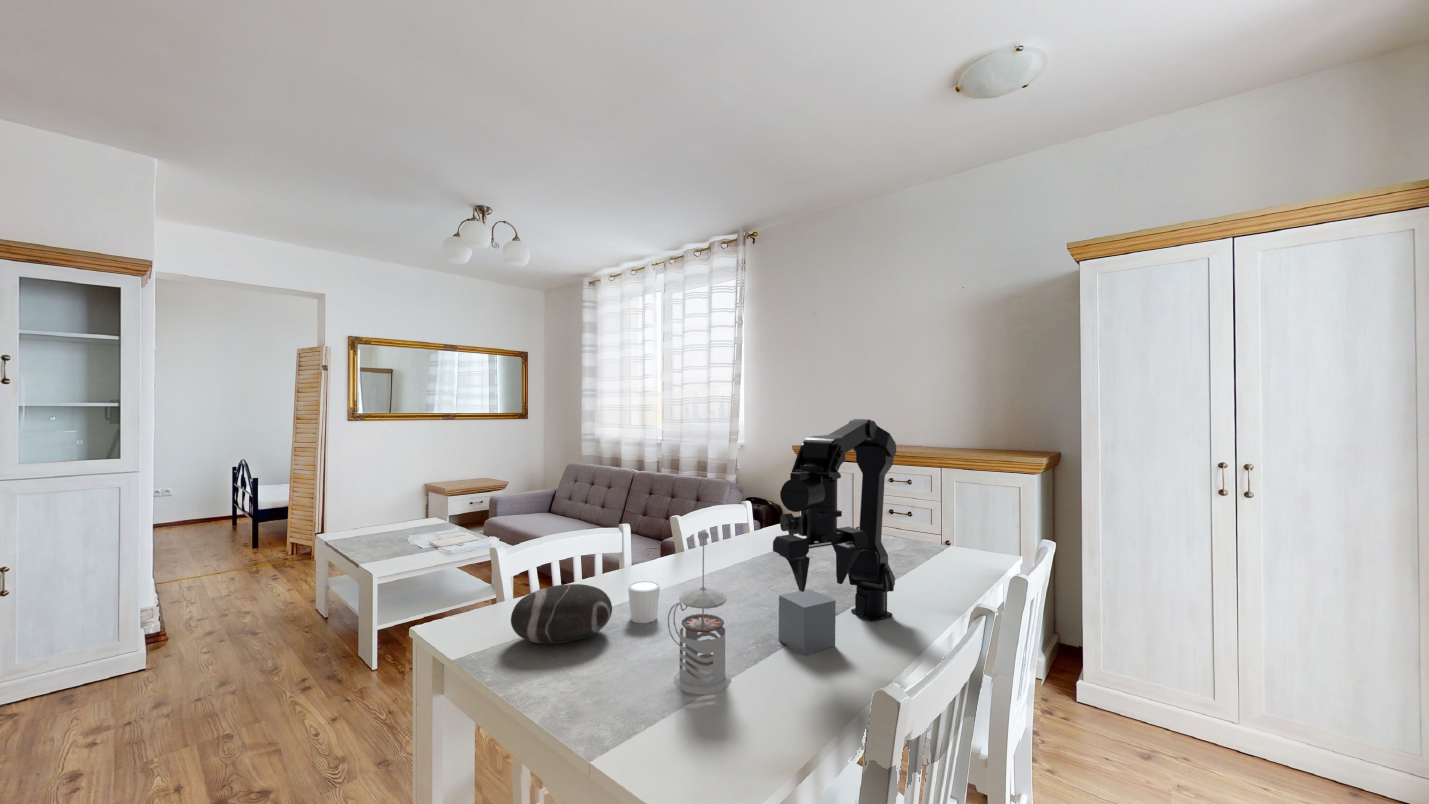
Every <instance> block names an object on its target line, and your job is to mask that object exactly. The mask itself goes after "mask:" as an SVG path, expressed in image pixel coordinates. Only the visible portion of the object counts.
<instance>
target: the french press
mask: <svg viewBox="0 0 1429 804" xmlns="http://www.w3.org/2000/svg"><path fill="white" fill-rule="evenodd" d="M697 538H698V539H701V540H702V586H695V587H693V588H690V589H688V590H686V591H684V592H682V594H680V595H679V597H678V600H679V602H677V603H675V604H673V605H672V606H671V607H670V609H669V611H668V614H667V629H668V631H669V634H670V635H669V636H670V637H671V639H672V640H673V642H674V643H675V644H676V645H678V646H679V671H678V672H677V673H676V674H674V676H673V684H674V686H676V688H677V689H679V690H681V691H682V692H685V693H688V694H689V693H690V694H694V695H711V694H715V693H719V692H722V691H724V690H725V689H727V688H728V687H729V686H730V684H731V683H732V676H731V675H730V674H729V673H728V672H727V671H726V628H725V627H724V625H725V623H724V622H725V621H724V619H723V618H722V617H720V616H717V615H715V614H709V613H704V610H705V609H714V608H718V607H720V606H723V605H724V604H726V602H727V601H728V598H727V595H725V594H724V593H723V592H721V591H720V590H718V589H716V588H714V587H710V586H704V584H705V583H704V582H705V578H704V577H705V576H704V575H705V539H709V538H710V535H709V532H708V531H706V530H700V531H699V532H698V534H697ZM683 605H684V606H685V607H684V608H683ZM678 606H680V611H681V612H684V611H685V610H686V609H688V607H690V608H693V609H694V608H695V609H702V610H701V611H702V612H701V613H695V614H691V615H687V616H685V617H684V618H682V620H681V625H682V627H681V628H680V629H679V632H678V629H677V627H676V625H677V624H676V621H675V620H676V610H677V609H678ZM673 609H674V610H673ZM672 611H673V626H674V631H675V633H676V634H677V636H678V637H679V642H678V641H677V640H676V639H675V637H674V636H673V635H672V631H671V628H670V615H671V613H672ZM684 629H685V636H684ZM714 632H716V633H717V634H718V635H719V636H718V635H717V634H716V633H714ZM698 633H699V634H698ZM708 636H709V637H712V639H711V638H706V639H702V640H700V638H702V637H708ZM684 644H685V646H684ZM684 652H685V653H684ZM712 653H713V654H712ZM698 654H700V655H698ZM683 661H684V662H683ZM724 688H725V689H724Z"/></svg>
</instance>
